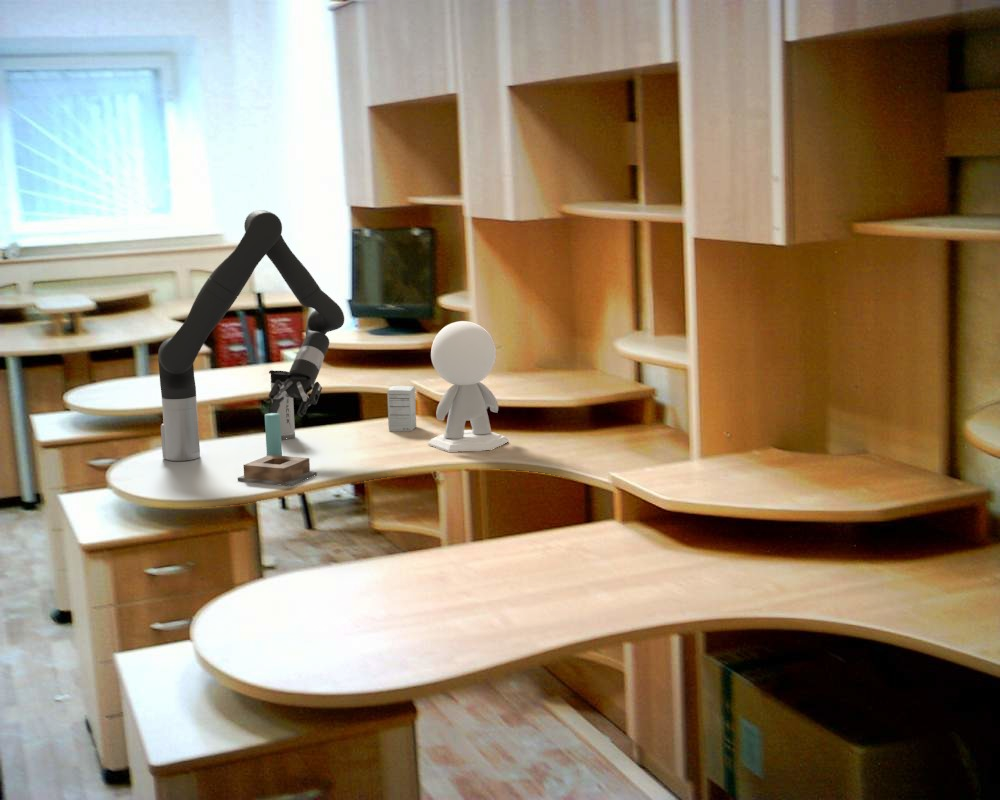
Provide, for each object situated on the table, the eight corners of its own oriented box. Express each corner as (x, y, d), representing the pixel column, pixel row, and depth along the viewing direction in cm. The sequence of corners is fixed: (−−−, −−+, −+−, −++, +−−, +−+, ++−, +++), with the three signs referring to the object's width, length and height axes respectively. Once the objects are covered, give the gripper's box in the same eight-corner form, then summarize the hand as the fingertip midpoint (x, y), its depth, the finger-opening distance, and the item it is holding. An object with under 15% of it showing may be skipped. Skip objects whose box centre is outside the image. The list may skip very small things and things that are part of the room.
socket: (237, 480, 319) (236, 464, 319) (264, 470, 330) (263, 454, 329) (291, 485, 313) (290, 469, 312) (316, 474, 324) (315, 458, 323)
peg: (264, 467, 334) (261, 415, 331) (272, 463, 337) (270, 412, 335) (277, 468, 332) (274, 416, 330) (285, 464, 336) (282, 413, 333)
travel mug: (274, 435, 374) (271, 369, 370) (296, 435, 374) (293, 368, 370) (270, 439, 368) (266, 372, 364) (292, 439, 367) (289, 372, 364)
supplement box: (393, 426, 384) (391, 385, 381) (417, 426, 383) (415, 385, 380) (387, 431, 376) (386, 389, 374) (412, 431, 375) (410, 390, 373)
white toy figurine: (476, 432, 372) (473, 315, 365) (520, 446, 353) (518, 322, 346) (418, 441, 361) (414, 321, 354) (459, 456, 342) (456, 328, 336)
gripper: (279, 356, 347) (257, 405, 338) (323, 359, 341) (303, 408, 333) (290, 372, 352) (269, 420, 344) (334, 375, 347) (314, 423, 338)
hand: (286, 414), depth 338 cm, fingers open, 8 cm apart
